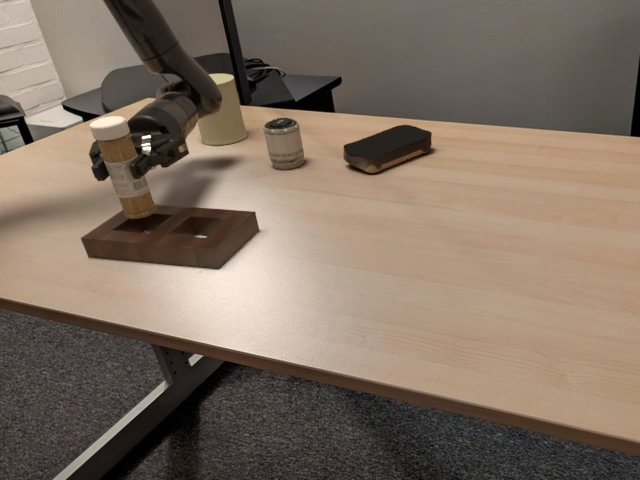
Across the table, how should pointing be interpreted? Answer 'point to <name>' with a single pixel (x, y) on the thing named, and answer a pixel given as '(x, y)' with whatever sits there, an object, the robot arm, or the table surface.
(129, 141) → the sprinkles bottle
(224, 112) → the can
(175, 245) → the socket block
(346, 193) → the table surface
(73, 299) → the table surface
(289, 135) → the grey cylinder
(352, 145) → the black sponge
